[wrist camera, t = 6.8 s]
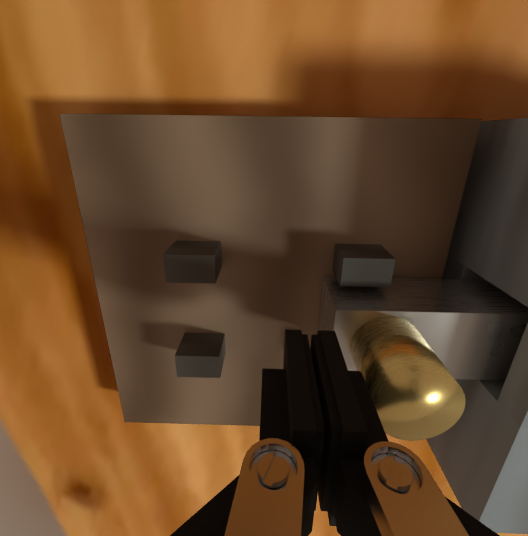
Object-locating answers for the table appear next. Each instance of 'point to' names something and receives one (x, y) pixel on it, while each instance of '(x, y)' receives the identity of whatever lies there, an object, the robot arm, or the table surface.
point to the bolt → (423, 345)
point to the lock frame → (299, 258)
